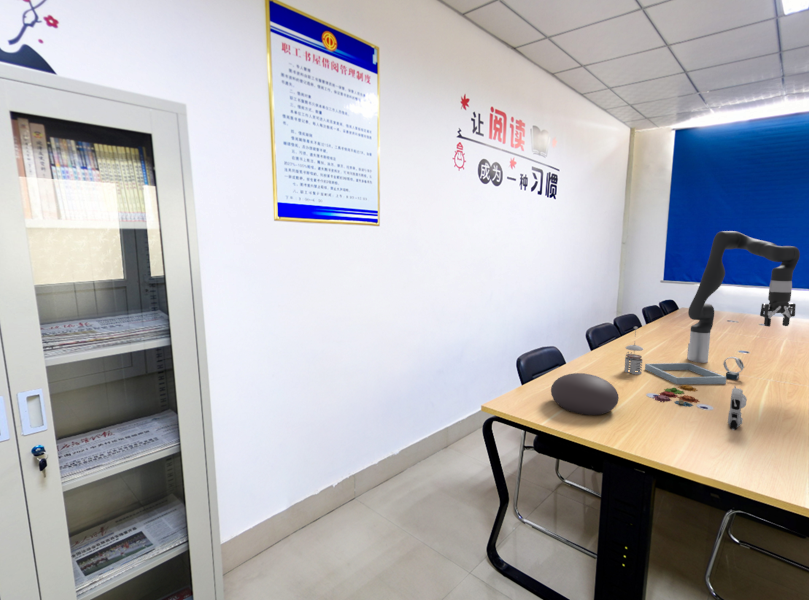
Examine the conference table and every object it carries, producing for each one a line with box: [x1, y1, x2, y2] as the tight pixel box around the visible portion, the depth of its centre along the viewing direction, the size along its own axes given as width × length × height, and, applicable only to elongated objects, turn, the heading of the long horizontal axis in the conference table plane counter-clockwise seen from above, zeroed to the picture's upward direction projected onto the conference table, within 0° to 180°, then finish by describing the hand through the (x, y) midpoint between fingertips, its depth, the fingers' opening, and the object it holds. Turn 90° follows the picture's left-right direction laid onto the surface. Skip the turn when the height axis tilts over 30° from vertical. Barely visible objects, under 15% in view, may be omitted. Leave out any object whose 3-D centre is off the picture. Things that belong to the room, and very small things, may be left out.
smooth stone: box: [550, 372, 619, 416], centre depth 166 cm, size 25×25×15 cm
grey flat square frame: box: [644, 362, 727, 385], centre depth 207 cm, size 24×24×4 cm
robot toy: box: [727, 385, 748, 431], centre depth 148 cm, size 12×4×15 cm, turn 139°
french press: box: [623, 326, 644, 375], centre depth 212 cm, size 10×12×25 cm
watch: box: [722, 356, 745, 381], centre depth 204 cm, size 6×8×11 cm
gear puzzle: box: [652, 384, 700, 408], centre depth 180 cm, size 31×16×4 cm, turn 133°
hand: (776, 326), depth 190 cm, fingers open, 8 cm apart
